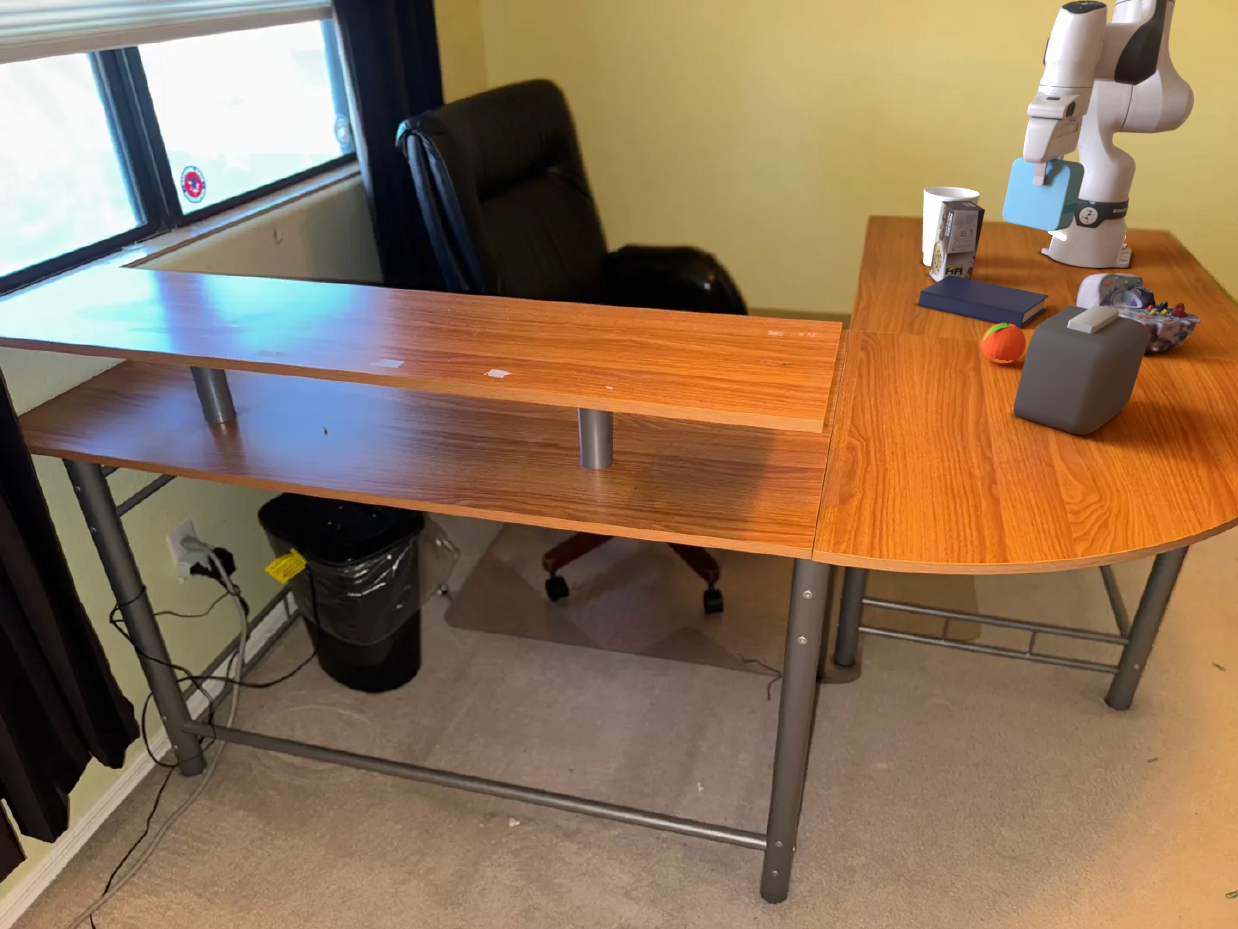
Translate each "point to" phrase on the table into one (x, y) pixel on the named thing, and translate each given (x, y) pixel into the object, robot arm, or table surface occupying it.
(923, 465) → the table surface
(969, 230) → the coffee box
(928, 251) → the cup
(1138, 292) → the cell model
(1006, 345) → the clementine
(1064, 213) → the data package
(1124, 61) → the robot arm
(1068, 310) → the alarm clock
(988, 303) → the book
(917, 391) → the table surface
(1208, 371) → the table surface
